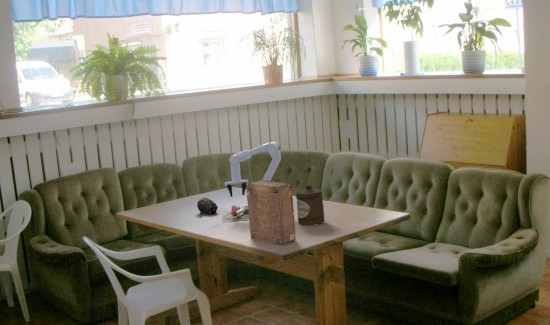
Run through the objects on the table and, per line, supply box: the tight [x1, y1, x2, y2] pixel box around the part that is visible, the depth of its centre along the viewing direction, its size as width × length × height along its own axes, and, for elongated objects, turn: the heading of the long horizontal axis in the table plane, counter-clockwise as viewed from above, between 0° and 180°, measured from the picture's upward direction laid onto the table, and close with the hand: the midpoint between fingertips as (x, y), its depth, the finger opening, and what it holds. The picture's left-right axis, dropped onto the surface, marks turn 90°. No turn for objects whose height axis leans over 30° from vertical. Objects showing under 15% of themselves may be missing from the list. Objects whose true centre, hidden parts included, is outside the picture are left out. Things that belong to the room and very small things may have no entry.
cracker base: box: [221, 206, 249, 223], centre depth 436 cm, size 20×24×4 cm
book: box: [245, 179, 297, 245], centre depth 375 cm, size 25×9×30 cm, turn 42°
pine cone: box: [196, 197, 219, 215], centre depth 450 cm, size 10×18×10 cm, turn 37°
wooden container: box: [295, 183, 326, 226], centre depth 405 cm, size 15×15×22 cm
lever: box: [231, 205, 248, 216], centre depth 436 cm, size 18×4×6 cm, turn 153°
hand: (237, 195), depth 447 cm, fingers open, 7 cm apart
